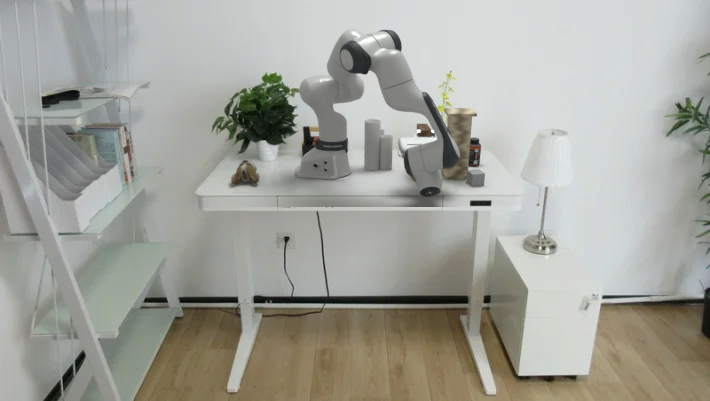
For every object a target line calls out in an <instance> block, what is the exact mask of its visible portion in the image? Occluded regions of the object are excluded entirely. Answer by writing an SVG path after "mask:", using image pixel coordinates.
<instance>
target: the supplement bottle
mask: <svg viewBox="0 0 710 401" xmlns="http://www.w3.org/2000/svg"><path fill="white" fill-rule="evenodd" d="M481 152H482V144H481V143H480V138H478V137H471V138H470V151H469V163H468V167H469V166H470V167H478V166H479V165H480V162H481Z"/></svg>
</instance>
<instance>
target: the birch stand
mask: <svg viewBox="0 0 710 401" xmlns="http://www.w3.org/2000/svg"><path fill="white" fill-rule="evenodd" d="M443 111H444V113H445V116H446V117H447V122H446V124H447V125H446V127H447V129H448V131H449V133H450V135H451V136H452V138H454V140H455V143H456V144H457V146H458V148H459V151H460V159H459V161H458V163H457V164H456V165H455V166H454V167H453V168H447V169H440V170H441V173H442V180H466V179H467V170H470V169H469V166H468V163H469V151H470V138H472V137H471V136H472V124H473V118H474V117H477V116H478V113H477V112H476V111H475V109H474V108H473V107H444V109H443Z"/></svg>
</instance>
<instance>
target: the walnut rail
mask: <svg viewBox="0 0 710 401" xmlns="http://www.w3.org/2000/svg"><path fill="white" fill-rule="evenodd" d="M416 130H420V136H418V137H433V136H432V130H433V129H432V128H431V126H429V124H428V123H416Z"/></svg>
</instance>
